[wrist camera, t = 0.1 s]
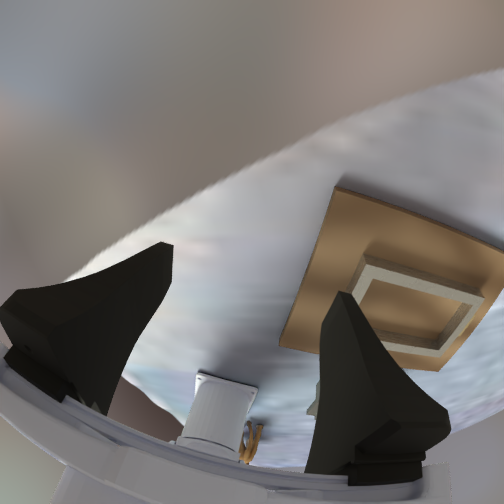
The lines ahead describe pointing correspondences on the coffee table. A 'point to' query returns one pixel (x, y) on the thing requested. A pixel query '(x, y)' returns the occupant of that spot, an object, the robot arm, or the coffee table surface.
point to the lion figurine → (249, 444)
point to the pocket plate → (396, 280)
